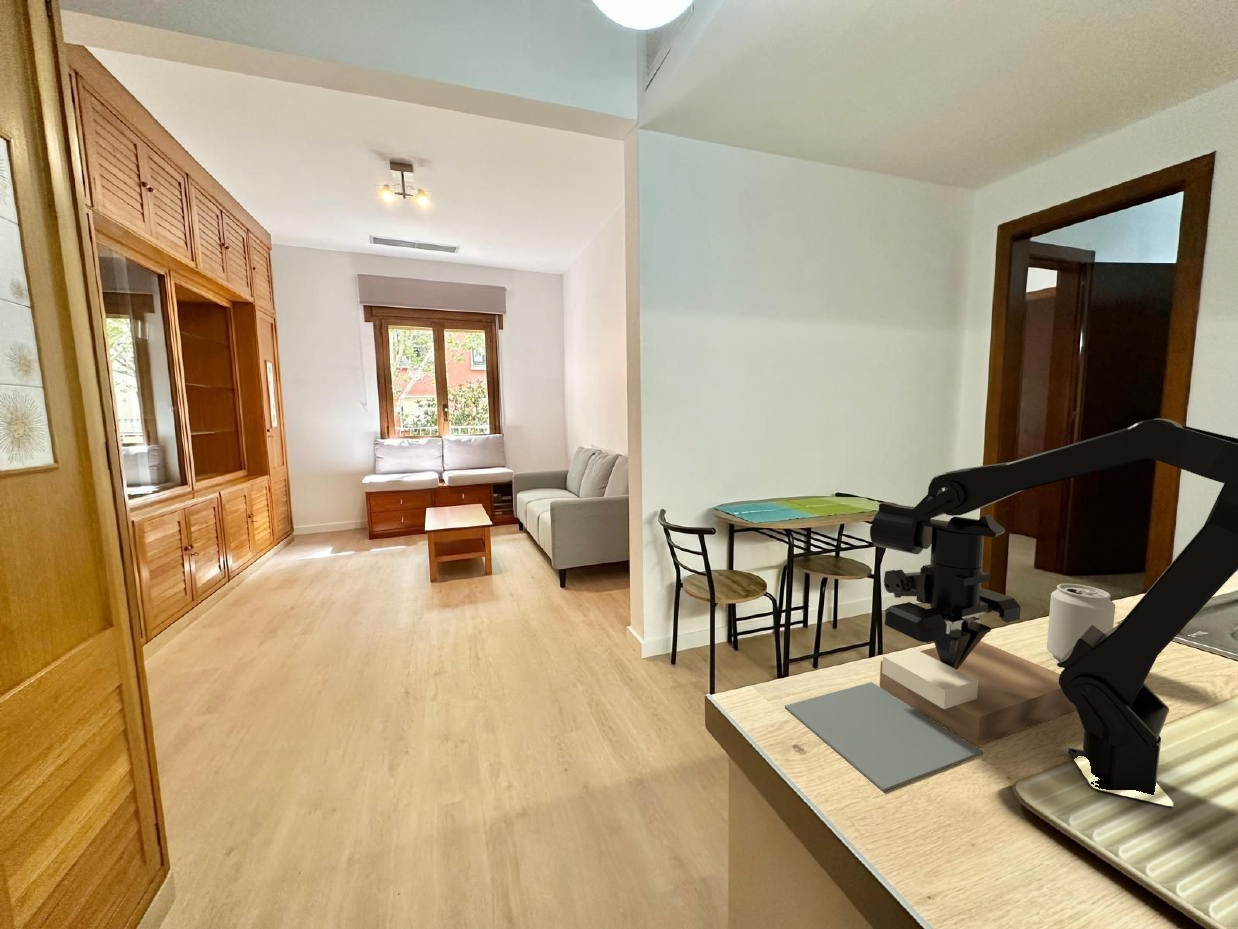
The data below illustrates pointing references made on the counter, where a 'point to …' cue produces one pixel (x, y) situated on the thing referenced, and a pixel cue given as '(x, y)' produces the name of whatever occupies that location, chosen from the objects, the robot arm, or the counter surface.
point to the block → (993, 696)
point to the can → (1076, 615)
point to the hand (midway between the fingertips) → (949, 672)
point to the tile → (930, 678)
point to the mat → (882, 734)
